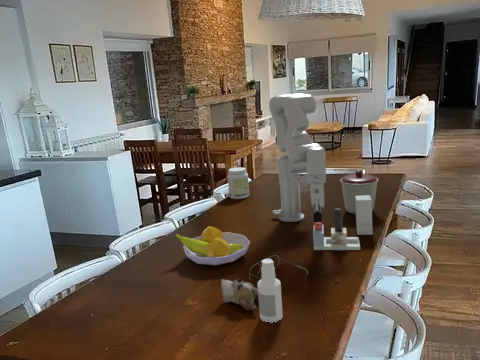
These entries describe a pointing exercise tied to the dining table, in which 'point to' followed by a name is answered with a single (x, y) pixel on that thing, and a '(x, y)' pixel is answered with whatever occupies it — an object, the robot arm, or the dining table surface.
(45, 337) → the dining table surface
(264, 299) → the white bottle
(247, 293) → the ceramic sculpture
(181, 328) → the dining table surface
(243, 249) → the fruit bowl
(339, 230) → the carriage
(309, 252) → the dining table surface
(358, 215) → the skincare box
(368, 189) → the canister
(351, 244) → the rail board
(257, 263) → the eyeglasses
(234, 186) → the supplement tub
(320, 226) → the button
